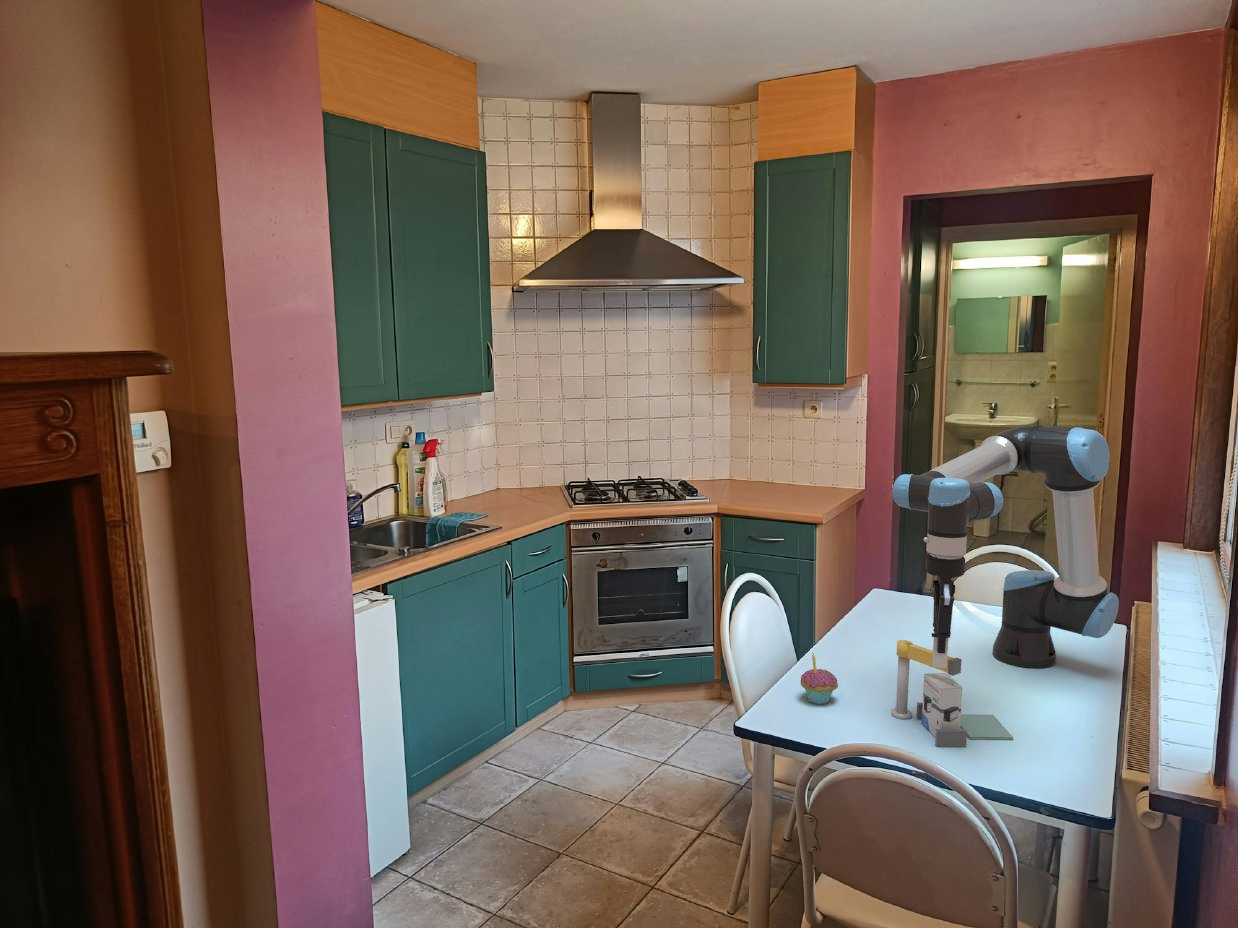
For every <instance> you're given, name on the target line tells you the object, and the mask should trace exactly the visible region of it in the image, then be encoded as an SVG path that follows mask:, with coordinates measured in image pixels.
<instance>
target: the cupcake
mask: <svg viewBox="0 0 1238 928" xmlns="http://www.w3.org/2000/svg"><path fill="white" fill-rule="evenodd" d="M811 657H812V658H811V659H812V667H813V668H812V669H809V670H807V671H804V673H802V674H801V677H800V686H801V687H802V688H803V689H804V690H805V692H806V696H807V700H808V702H811V703H813V704H816V705H817V704H818V705H823V704H828V703H829V702H830V699H831V696H832V695H833V694H832V693H833V691H836V689H838V687H839V684H838V679H837V676H835V675H834V674H833V673H832V672H831V671H829V670H827V669H822V668H817V663H816V661H817V660H816V655H815V654H814V652H812V655H811Z"/></svg>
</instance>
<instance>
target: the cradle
mask: <svg viewBox="0 0 1238 928" xmlns="http://www.w3.org/2000/svg"><path fill="white" fill-rule="evenodd" d="M897 658H898V659H897V676H896V677H897V678H896V679H897V680H896V681H897V682H896V699H895V701H896V703H895V705H896V706H895V707H894V708H892V709H891V710H890V715H891V716H892V718H895V719H897V720H910V719H912V717H913V716H912V715H913V713H912V711H911V710H910V709H908V705H909V704H908V702H909V682H910V681H909V680H910V661H911V659H908V658H903V657H899V656H897ZM922 709H923V702H919V701H918V702H916V714H915V715H916V716H915V717H916V719H917V720H922ZM934 738H935V739H934V741H935V742H934V745H935V746H936V748H967V738H968V737H967V731H966V729H961V728H960V729H936V737H934Z"/></svg>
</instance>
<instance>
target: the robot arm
mask: <svg viewBox="0 0 1238 928" xmlns="http://www.w3.org/2000/svg"><path fill="white" fill-rule="evenodd" d="M1110 454H1111V453H1110V449H1109V445H1108V442H1107V440H1106V438H1105V436H1103V435H1102V433H1100V432H1099V431H1097V430H1094V429H1087V428H1084V427H1079V426H1077V427H1071V426H1070V427H1069V426H1068V427H1067V426H1055V425H1044V424H1043V425H1041V424H1027V425H1020V426H1016V427H1012V428H1009V429H1006V430H1004V431H1001V432H998V433H995V434H993V435H991V436H989V437H987V438H985V439H984V440H983V441H982V443H981V444H980V446H978V447H976V448H973V449H972V450H970V451H968V452H966V453H963V454H961V455H959V456H957V457H956V458H953V459H951V460H949V461H947V462H945V463H943V464H941V465H939V466H936V467H934V468H932V469H930V470H928V471H926V472H924V473H922V474H920V475H919V474H918V475H916V474H913V473H911V474H906V473H905V474H901V475H899V476H898V477H897V478H896V479H895V481H894V483H893V487H892V498H893V501H894V503H895V505H897V506H898V507H901V508H906V509H908V510H911V511H913V510H914V511H918V512H919V511H920V512H925V513H927V515H928V516H927V528H926V529H927V530H926V533H927V534H926V537H923V542H924V543H926V549H925V550H926V552H927V554H926V555H925V566H924V567H925V572H926V574H929V575H931V576H932V577H933V576H934V577H936V579H933V580H932V589H933V597H932V598H933V618H932V619H933V621H932V627H933V632H931V637H932V641H933V642H932V643H933V644H932V651H933V657H932V666H933V667H940V668H947V656H949V655H948V653H949V652H948V651H949V639H950V638H951V635H952V633H951V631H952V630H951V629H952V618H953V609H954V608H953V607H954V601H955V599H956V598H955V596H954V595H955V593H956V584H955V583H954V581H953V579H954V578H960V577H963V576H964V575H965V571H966V557H964V556H965V555H966V554H967V542H968V534H967V531H968V523H971V522H976V521H981V520H983V521H984V520H988V519H990V518H992V517H995V516H996V515H997V514H999V513H1000V511H1001V510H1002V509H1003V507H1004V506H1003V505H1004V496H1003V492H1002V491H1001V490H1000V488H999V487H998V486H997V485H995V483H992V482H986V480H988V479H990V478H992V477H994V476H996V475H1007V474H1009V473H1012V472H1025V473H1032V474H1037V475H1038V474H1039V475H1043V480H1044V486H1045V487H1046V488H1047V489H1048V490H1049V491H1051V492H1052V500H1053V501H1052V503H1053V512H1054V514H1053V515H1054V525H1055V535H1056V548H1057V549H1056V551H1057V558H1058V560H1057V561H1058V571H1059V576H1058V577H1055V573H1053V572H1050V571H1047V570H1039V569H1038V570H1036V569H1035V570H1033V569H1030V570H1028V569H1027V570H1026V569H1025V570H1015V571H1012V572H1009V573H1008V574H1007V575H1006V576H1005V578H1004V582H1003V588H1002V592H1003V593H1002V608H1001V609H1002V612H1001V626H1000V628H999V631H998V633H997V636H996V638H995V640H994V643H993V645H992V655H993V657H994V658H995V659H996V660H999V661H1001V662H1003V663H1006V664H1009V665H1012V666H1016V667H1021V668H1029V669H1030V668H1032V669H1044V668H1050V667H1052V666H1054V665H1055V664H1056V661H1057V652H1056V649H1055V644H1054V641H1053V637H1052V635H1051V628H1055V629H1059V630H1062V631H1065V632H1070V633H1074V634H1078V635H1081V636H1082V637H1090V638H1096V639H1099V638H1103V637H1105V636H1106V635H1107V634H1108V633H1109V632H1110V631H1111V629H1112V628H1113V626H1114V623H1115V621H1116V619H1117V617H1118V616H1117V615H1118V612H1119V608H1120V607H1119V606H1120V603H1119V602H1120V600H1119V597H1118V596H1117V594H1115V593H1114V592H1112V591H1111V592H1109V591H1108V584H1107V583H1108V582H1107V580H1106V579H1105V578H1104V577H1102V576H1101V575H1100V570H1099V569H1100V568H1099V552H1098V541H1097V540H1098V537H1097V526H1096V525H1097V523H1096V513H1095V512H1096V510H1095V509H1096V508H1095V497H1094V495H1095V494H1094V489H1096V488H1097V487H1098V486H1099V485H1100V484H1101V483H1100V482H1101V480H1104V478H1105V477H1106V476H1107V474H1108V471H1109V467H1110V466H1109V463H1111V461H1110V460H1111V457H1110V456H1111V455H1110ZM933 667H932V668H933Z"/></svg>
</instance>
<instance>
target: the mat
mask: <svg viewBox="0 0 1238 928" xmlns="http://www.w3.org/2000/svg"><path fill="white" fill-rule="evenodd" d="M960 729H966V731H967V738H968V739H969V740H971V741H972V740H975V741H977V740H981V741H983V740H984V741H985V740H986V741H988V740H989V741H990V740H991V741H992V740H993V741H1014V736H1013V735H1012V734H1011V733H1010V731H1008V729H1006V728H1005V726H1004V725H1003V724H1002V723H1001V722H1000V721H999V720H998V718H997V717H995V715H994V714H969V713H968V714H965V713H963V714H962V713H961V724H960Z"/></svg>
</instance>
